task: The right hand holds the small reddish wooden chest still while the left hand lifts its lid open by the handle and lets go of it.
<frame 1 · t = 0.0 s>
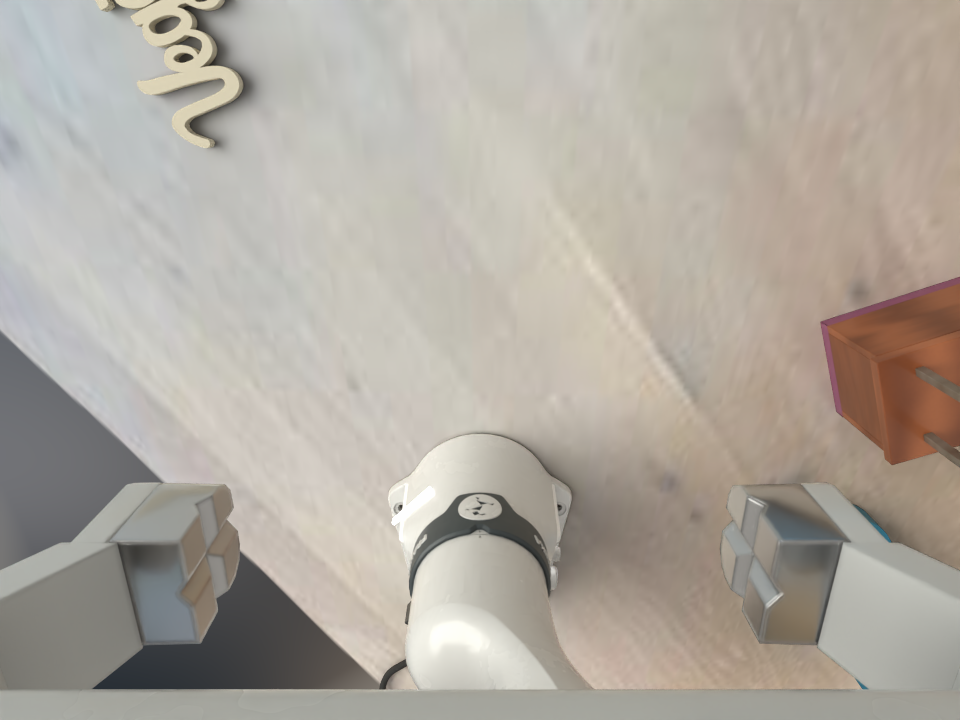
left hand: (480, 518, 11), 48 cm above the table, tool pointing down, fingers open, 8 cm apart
chest: (895, 346, 60), on the table
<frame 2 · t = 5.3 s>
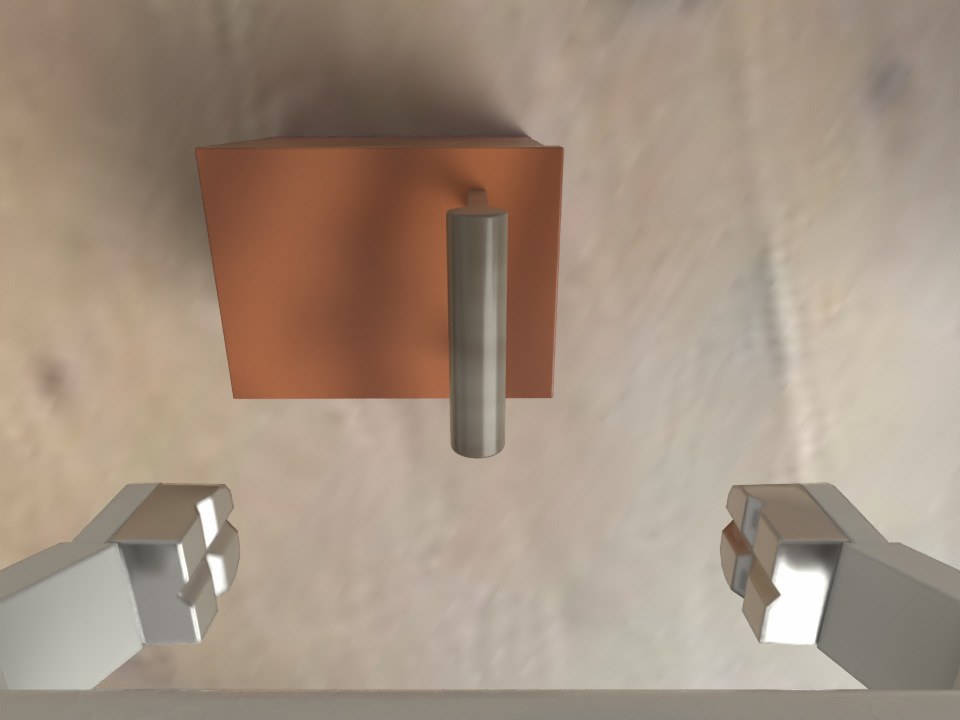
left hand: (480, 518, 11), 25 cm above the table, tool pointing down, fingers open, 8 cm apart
chest: (407, 235, 34), on the table
lid: (374, 304, 22), point 13 cm above the table, hinge at 0.0°
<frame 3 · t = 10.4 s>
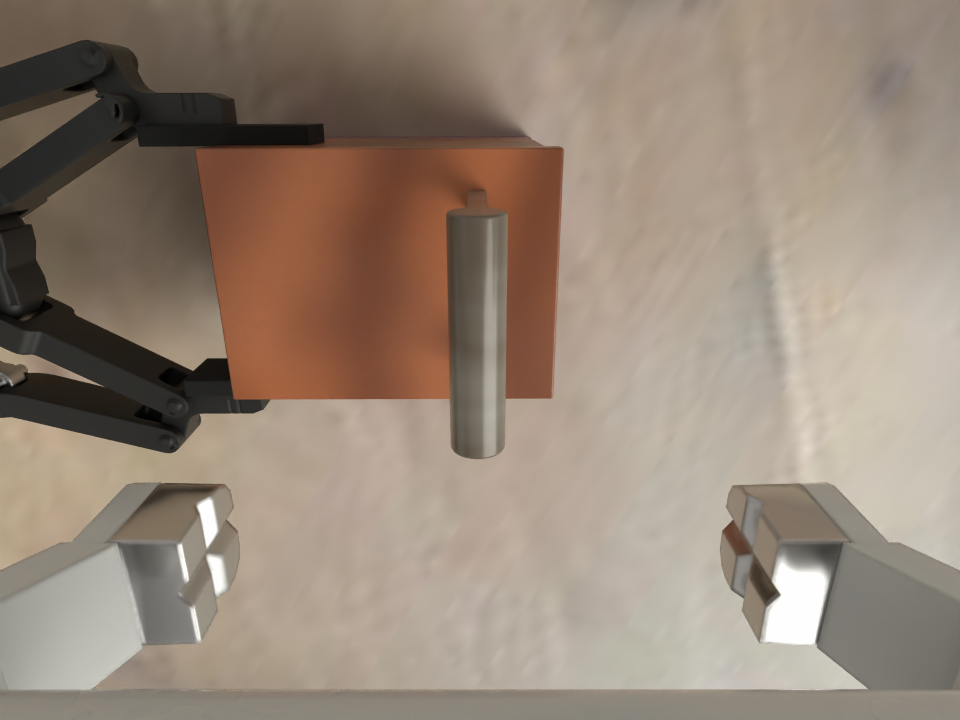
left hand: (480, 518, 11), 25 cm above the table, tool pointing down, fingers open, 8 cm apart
right hand: (327, 263, 28), fingers closed on chest, 10 cm apart
chest: (406, 235, 34), on the table, touching right hand
lid: (374, 305, 22), point 13 cm above the table, hinge at 0.0°
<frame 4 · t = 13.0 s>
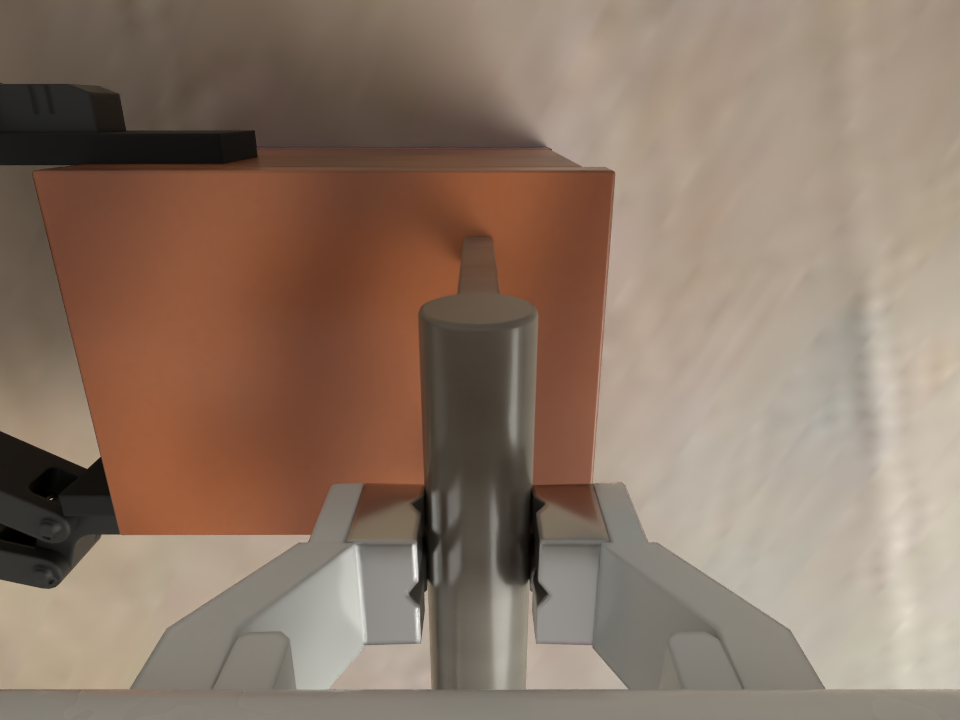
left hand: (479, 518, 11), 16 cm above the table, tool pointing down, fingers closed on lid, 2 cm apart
chest: (384, 277, 25), on the table, touching right hand
lid: (310, 429, 13), point 13 cm above the table, hinge at 0.0°, touching left hand
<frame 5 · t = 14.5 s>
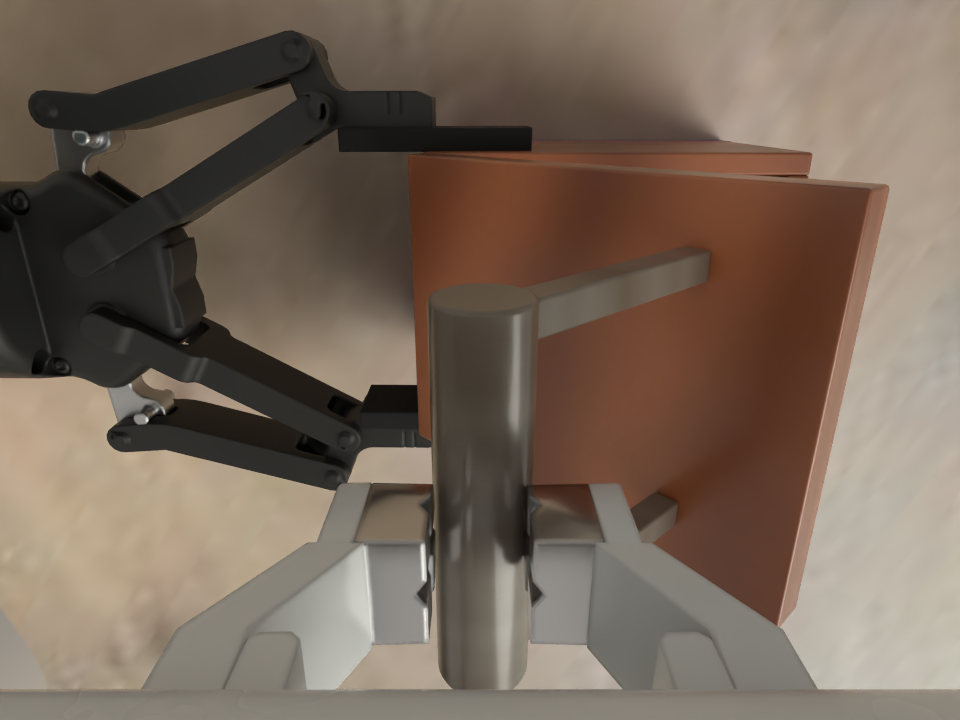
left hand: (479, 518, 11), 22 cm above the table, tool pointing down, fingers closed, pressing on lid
right hand: (526, 282, 25), fingers closed on chest, 10 cm apart
chest: (575, 248, 31), on the table, touching right hand
lid: (481, 387, 15), point 17 cm above the table, hinge at 45.6°, touching left hand
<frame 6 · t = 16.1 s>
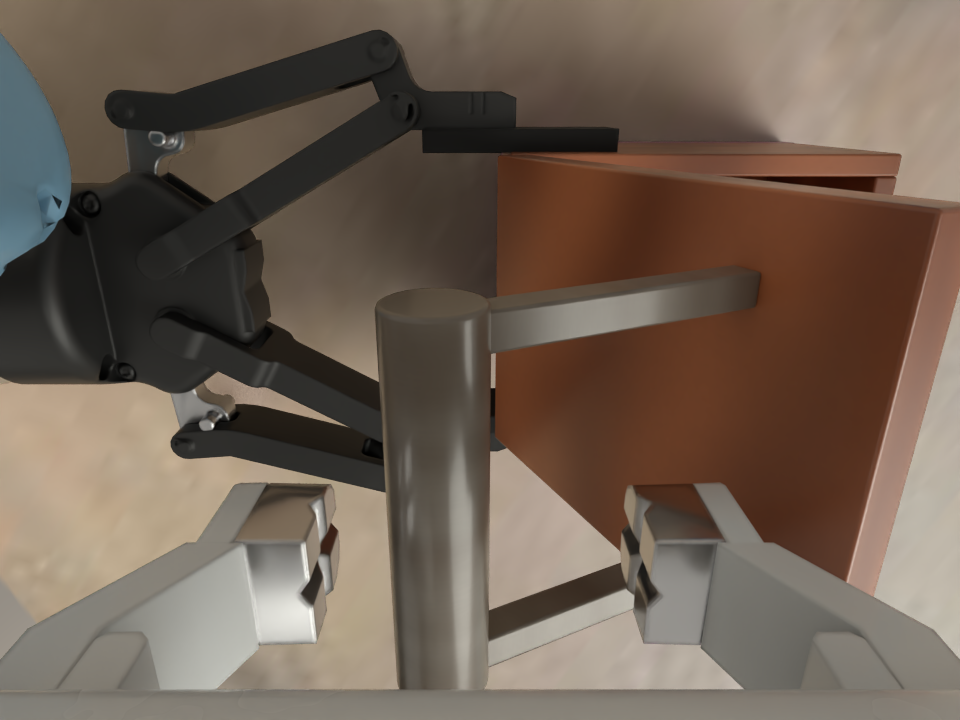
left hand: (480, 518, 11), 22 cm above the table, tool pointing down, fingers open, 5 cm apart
right hand: (600, 284, 24), fingers closed on chest, 10 cm apart
chest: (632, 250, 31), on the table, touching right hand
lid: (510, 397, 15), point 17 cm above the table, hinge at 63.7°
when the right hand's fingers open (7 cm above the table, at t = 19.6 s): chest stays where it is, on the table.
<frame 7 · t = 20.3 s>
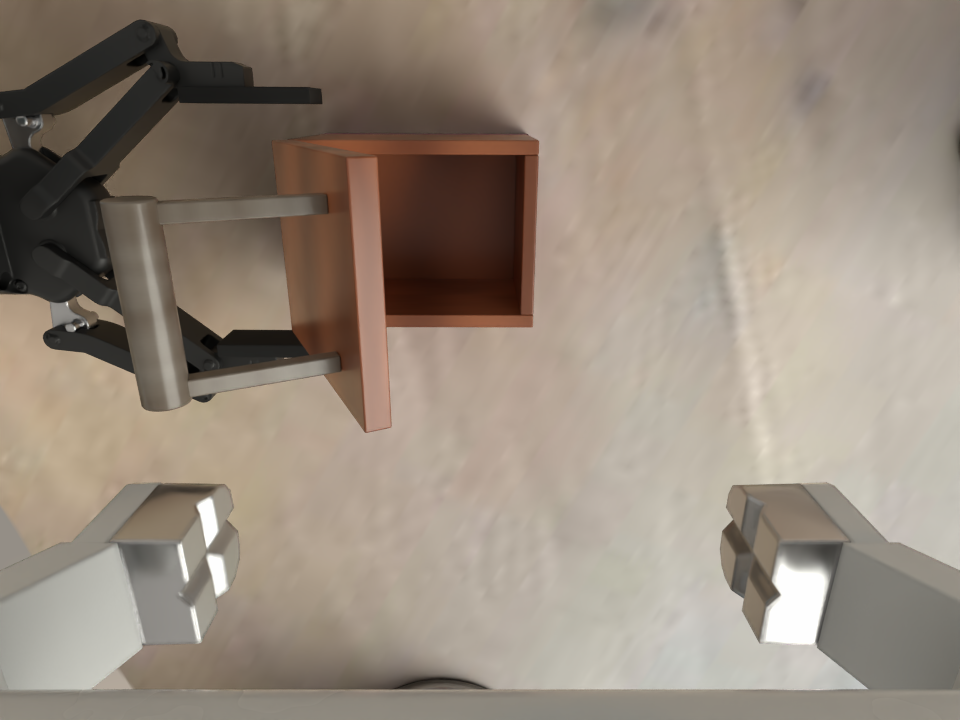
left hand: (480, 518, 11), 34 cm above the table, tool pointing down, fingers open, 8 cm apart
right hand: (327, 228, 36), fingers open, 13 cm apart
chest: (428, 213, 42), on the table
lid: (236, 274, 26), point 17 cm above the table, hinge at 63.3°
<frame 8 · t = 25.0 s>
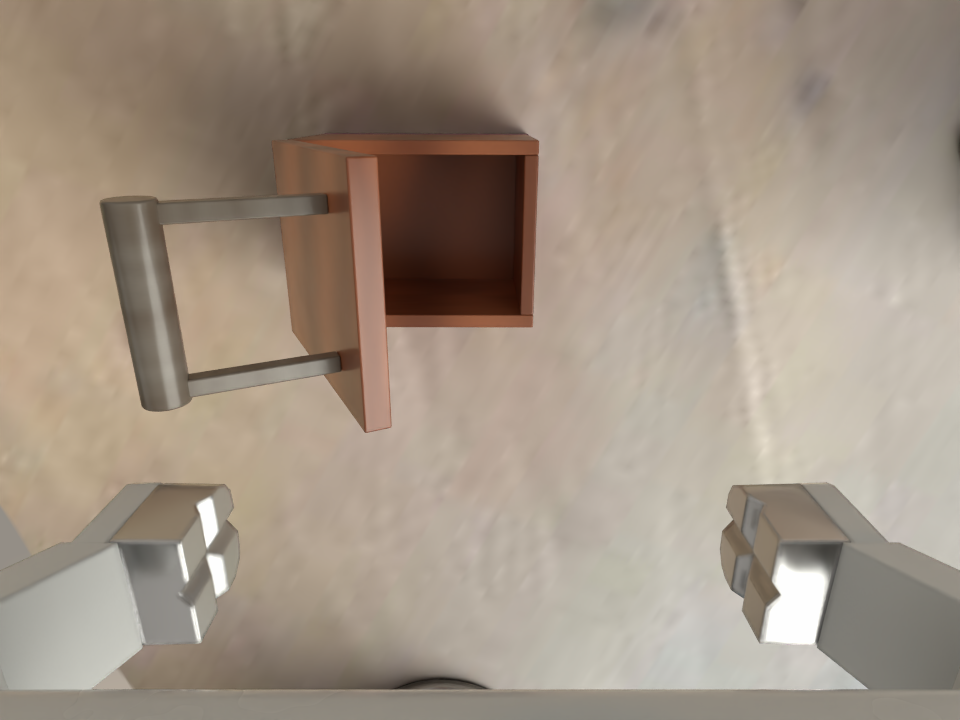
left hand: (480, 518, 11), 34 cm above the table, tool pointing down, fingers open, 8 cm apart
chest: (428, 213, 42), on the table
lid: (236, 274, 26), point 17 cm above the table, hinge at 63.3°
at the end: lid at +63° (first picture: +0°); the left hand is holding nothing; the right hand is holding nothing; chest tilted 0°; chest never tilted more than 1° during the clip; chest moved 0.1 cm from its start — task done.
